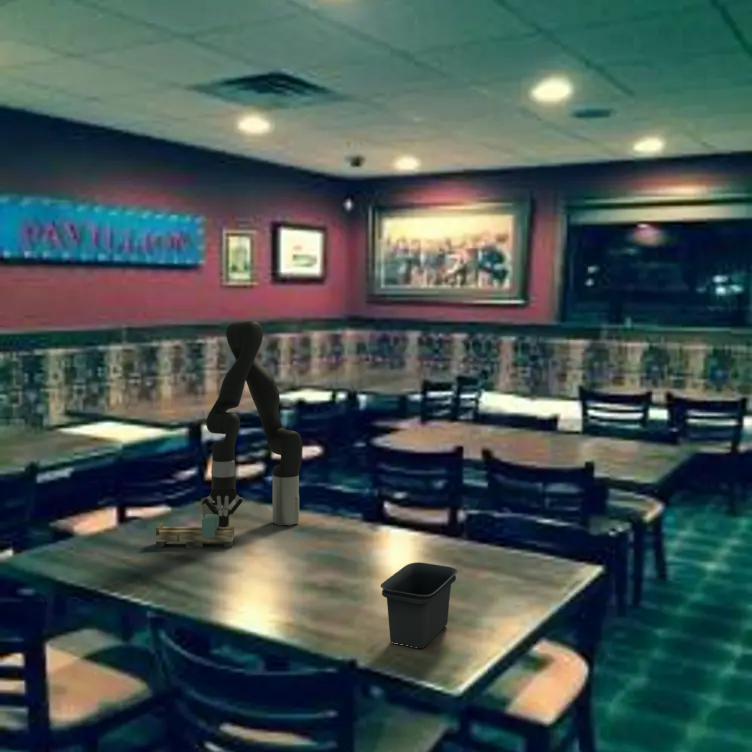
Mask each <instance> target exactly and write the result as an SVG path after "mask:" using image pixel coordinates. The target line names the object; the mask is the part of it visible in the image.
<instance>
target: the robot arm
mask: <svg viewBox="0 0 752 752" xmlns="http://www.w3.org/2000/svg"><path fill="white" fill-rule="evenodd" d="M225 333H226V334H225V336H226V340H227V343H228V347H229V348H230V351H231V352H232V354H233V356H234V358H235V360H236V361H235V362H234V363H233V364H232V366H231V367H230V369H229V370H228V371H227V373H226V374H225V376H224V378H223V381H222V383H221V386H220V390H219V394H218V397H217V400H215V403H214V404H213V406H212V407H211V409H210V411H209V412H208V415H207V418H206V423H205V424H206V425H205V426H206V428H207V431H208V432H209V433H211V434H216V435H220V434H221V435H225V436H224V439H223V440H217V441H215V442H213V444H212V446H211V447H212V448H211V455H212V457H211V458H212V459H211V460H212V461H211V471H210V473H211V489H210V490H211V491H210V494H209V496H206V497H205V498H203V499H204V503H205V504H206V505H207V506H208V508H209V509H210V510H211V511H212V512H213V514H217V515H218V516H219V525H220V526H221V527H226V526H227V525H228V516H229V515H233V514H234V513H235V512H236V510H237V509H238V508H239V507H240V506H241V505H242V503H243V502H244V498H243V497H240V496H239V495H238V492H237V488H236V462H235V460H236V459H235V448H236V442H237V437H238V434H239V431H240V427H241V420H240V417H239V415H238V414H237V413H235V412H232V411H231V412H228V410H232V409H235V408H236V409H237V407H239V405H240V404H241V401H242V400H241V399H242V396H243V392H244V389H245V385H247V387H248V392H249V393H250V395H251V398H252V401H253V403H254V406H255V408H256V411H257V414H258V416H259V418H260V421H261V425H262V428H263V431H264V434H265V435H264V436H265V440H266V444H267V446H268V448H269V449H270V451H271V452H272V453H274V454H275V455H277V456H280V461H279V462H280V463H279V464H277V465H274V466H273V467H272V516H271V517H272V524H273V523H275V524H274V525H276V524H279V525H278V526H282V525H288V526H292V525H291V524H297V525H299V523H300V488H299V487H300V484H299V483H300V479H299V478H300V470H301V466H302V455H303V441H302V437H301V435H300V433H298V431H295V430H291V429H286V428H285V427H284V426H283V423H282V421H281V419H280V418H281V417H280V416H279V415H280V414H279V406H280V399H281V397H280V391H279V389H278V386H277V383H276V381H275V378H274V377H273V375H272V374H271V373H270V371H268V370H267V369H266V368H265V367H264V366H263V365H262V364H261V363H260V362H259V361H258V360H257V359H256V357H257V354H258V352H259V350H260V348H261V345H262V342H263V339H264V332H263V328H262V326H261V324H260V323H259V322H257V321H253V320H251V321H250V320H248V321H240V322H239V321H238V322H233V323H230V324H229V325H228V326H227V328H226V331H225ZM245 383H246V384H245ZM211 498H212V499H213V500H214V502H215V503H216V504H217V505H218V510H217V508H216V507H215V506H214V505H213V503H212V499H211ZM234 500H235V501H234ZM233 502H235V504H234V505H232V508H231V509H230V510H229V505H230V504H231V503H232V504H233ZM223 505H224V515H223ZM298 522H299V523H298Z"/></svg>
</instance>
